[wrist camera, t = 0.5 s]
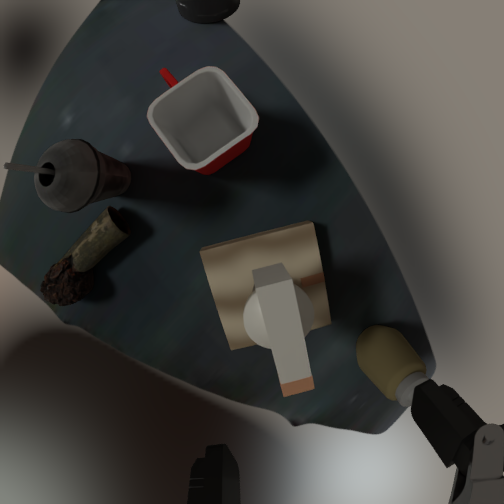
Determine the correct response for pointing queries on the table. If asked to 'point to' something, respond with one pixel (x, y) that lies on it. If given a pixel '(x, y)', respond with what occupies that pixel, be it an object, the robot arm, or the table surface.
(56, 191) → the beverage cup
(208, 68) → the mug
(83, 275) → the morel mushroom
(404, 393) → the squeeze bottle
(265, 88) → the table surface
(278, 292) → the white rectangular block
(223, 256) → the post block
